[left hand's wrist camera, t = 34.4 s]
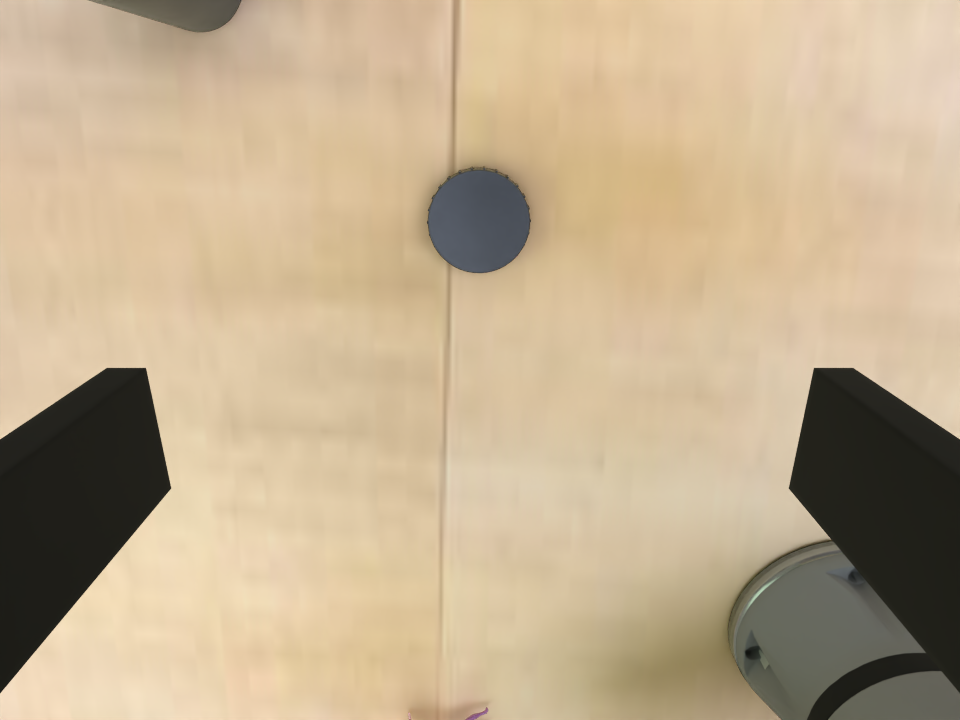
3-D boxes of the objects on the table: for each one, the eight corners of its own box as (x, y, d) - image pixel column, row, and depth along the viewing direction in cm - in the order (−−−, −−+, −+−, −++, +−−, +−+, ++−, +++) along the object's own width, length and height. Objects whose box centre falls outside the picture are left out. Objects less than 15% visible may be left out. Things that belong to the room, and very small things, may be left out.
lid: (535, 172, 36) (537, 174, 34) (522, 272, 38) (523, 279, 37) (433, 160, 36) (430, 162, 34) (425, 262, 38) (423, 269, 36)
